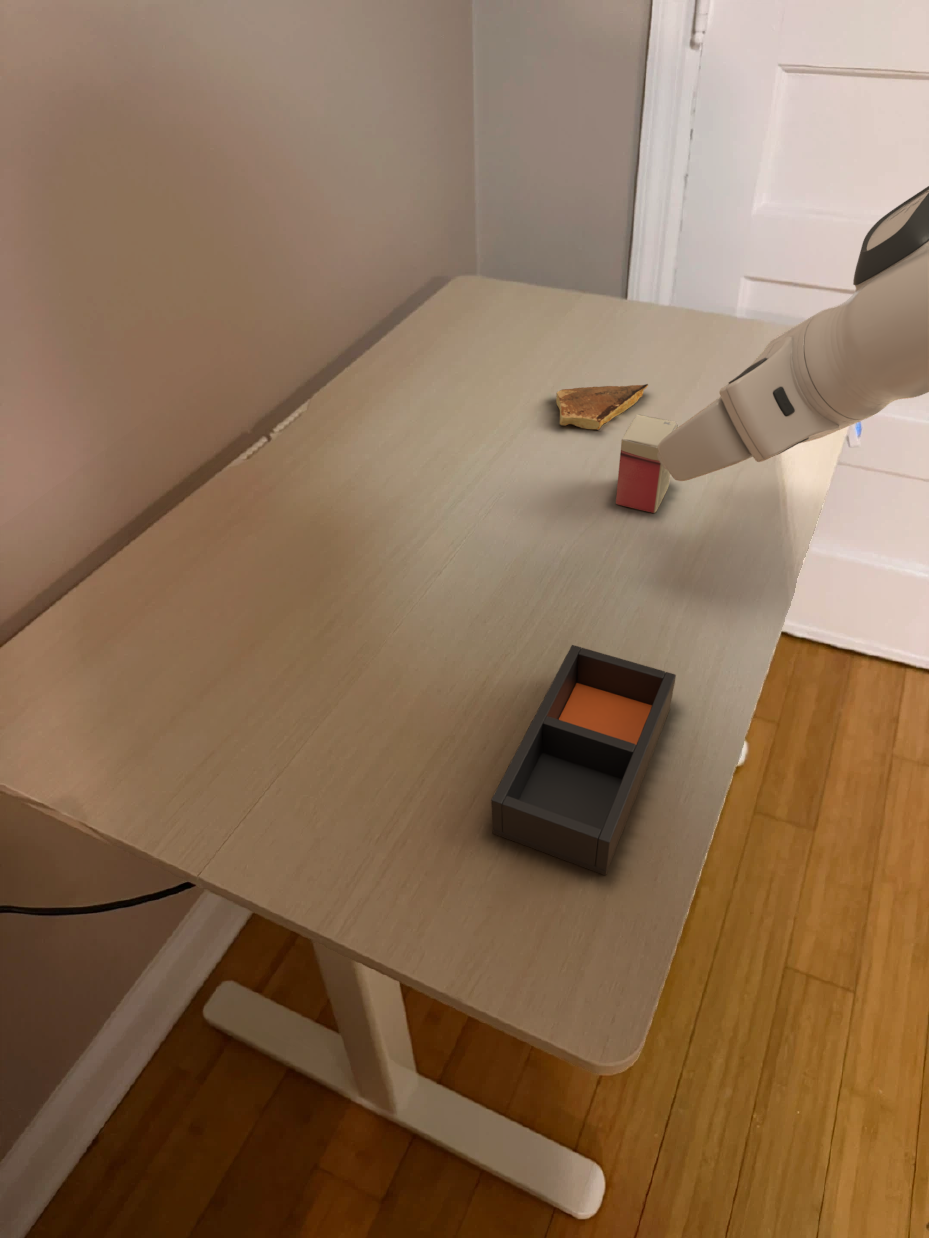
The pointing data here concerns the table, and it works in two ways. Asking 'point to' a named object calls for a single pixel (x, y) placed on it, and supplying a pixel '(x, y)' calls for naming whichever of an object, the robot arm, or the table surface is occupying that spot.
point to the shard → (595, 404)
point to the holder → (583, 758)
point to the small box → (643, 464)
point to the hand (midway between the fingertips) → (698, 438)
